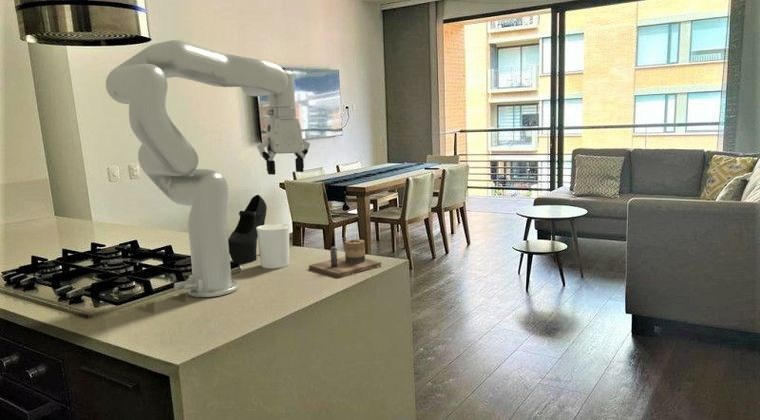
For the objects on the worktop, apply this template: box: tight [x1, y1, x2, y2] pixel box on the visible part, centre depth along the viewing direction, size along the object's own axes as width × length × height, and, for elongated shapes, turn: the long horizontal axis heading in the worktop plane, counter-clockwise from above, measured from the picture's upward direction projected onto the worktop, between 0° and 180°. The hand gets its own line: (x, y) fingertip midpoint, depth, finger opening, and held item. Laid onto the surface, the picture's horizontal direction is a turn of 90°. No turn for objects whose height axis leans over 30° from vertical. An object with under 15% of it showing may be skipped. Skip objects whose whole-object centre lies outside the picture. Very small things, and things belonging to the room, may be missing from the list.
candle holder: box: [256, 223, 290, 270], centre depth 166 cm, size 10×10×12 cm
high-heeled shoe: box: [228, 194, 268, 264], centre depth 174 cm, size 8×19×20 cm, turn 158°
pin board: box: [308, 242, 382, 278], centre depth 160 cm, size 16×14×7 cm
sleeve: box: [344, 239, 366, 264], centre depth 163 cm, size 6×6×6 cm
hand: (285, 173), depth 162 cm, fingers open, 9 cm apart
